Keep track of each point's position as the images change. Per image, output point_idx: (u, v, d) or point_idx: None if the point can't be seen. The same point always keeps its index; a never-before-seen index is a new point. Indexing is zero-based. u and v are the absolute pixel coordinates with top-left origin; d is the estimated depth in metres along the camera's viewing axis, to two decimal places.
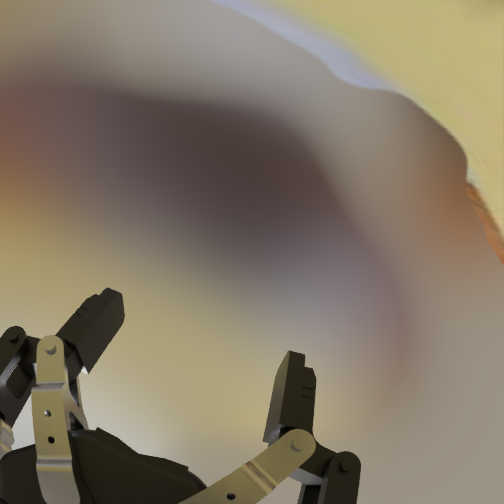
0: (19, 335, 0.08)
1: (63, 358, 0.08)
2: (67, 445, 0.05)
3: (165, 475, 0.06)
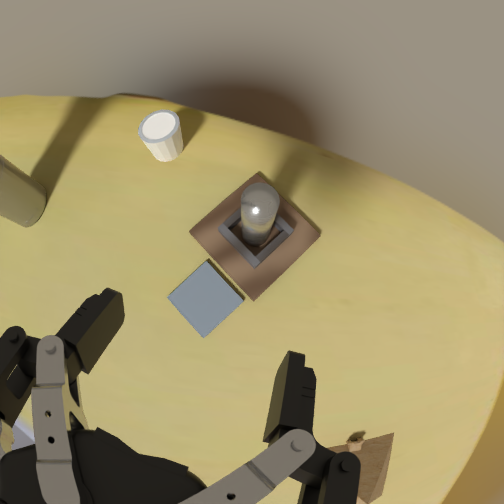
0: (19, 335, 0.08)
1: (63, 358, 0.08)
2: (67, 445, 0.05)
3: (165, 475, 0.06)
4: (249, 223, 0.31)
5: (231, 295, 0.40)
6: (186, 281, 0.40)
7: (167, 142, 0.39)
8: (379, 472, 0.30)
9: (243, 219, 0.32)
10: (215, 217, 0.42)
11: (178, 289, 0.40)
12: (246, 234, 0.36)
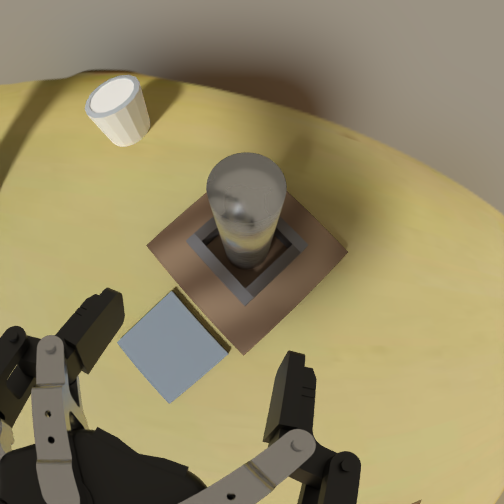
0: (19, 335, 0.08)
1: (63, 358, 0.08)
2: (67, 445, 0.05)
3: (165, 475, 0.06)
4: (227, 234, 0.16)
5: (209, 345, 0.25)
6: (143, 321, 0.25)
7: (120, 115, 0.24)
8: None
9: (217, 226, 0.17)
10: (186, 224, 0.27)
11: (132, 332, 0.25)
12: (229, 252, 0.21)
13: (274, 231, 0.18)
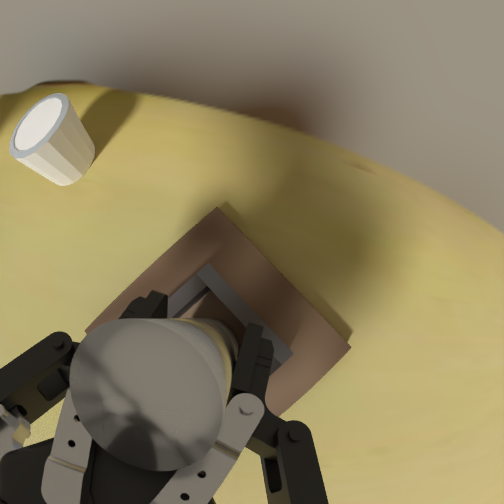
0: (64, 341, 0.08)
1: None
2: (86, 454, 0.05)
3: (165, 475, 0.06)
4: None
5: None
6: None
7: (44, 153, 0.16)
8: None
9: None
10: None
11: None
12: None
13: None
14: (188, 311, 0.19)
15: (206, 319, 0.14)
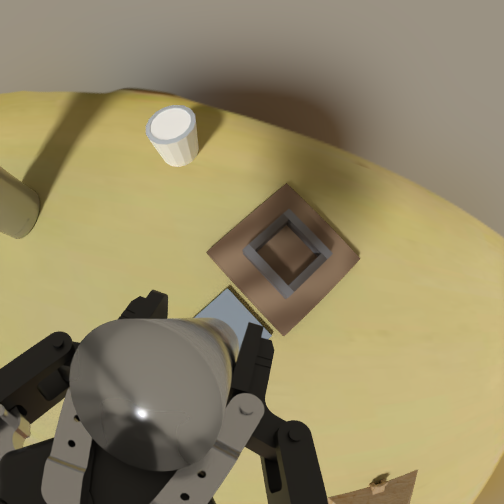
0: (64, 341, 0.08)
1: None
2: (87, 454, 0.05)
3: (165, 475, 0.06)
4: None
5: None
6: (203, 312, 0.34)
7: (181, 143, 0.33)
8: None
9: None
10: (238, 235, 0.35)
11: None
12: None
13: None
14: (274, 236, 0.35)
15: (206, 319, 0.14)
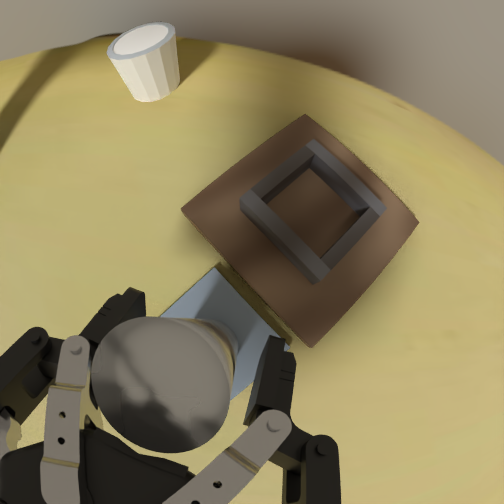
0: (41, 336, 0.08)
1: (90, 359, 0.08)
2: (77, 449, 0.05)
3: (165, 475, 0.06)
4: None
5: (266, 338, 0.19)
6: (174, 308, 0.20)
7: (152, 58, 0.19)
8: None
9: None
10: (233, 182, 0.21)
11: None
12: None
13: None
14: (291, 184, 0.21)
15: (209, 320, 0.15)
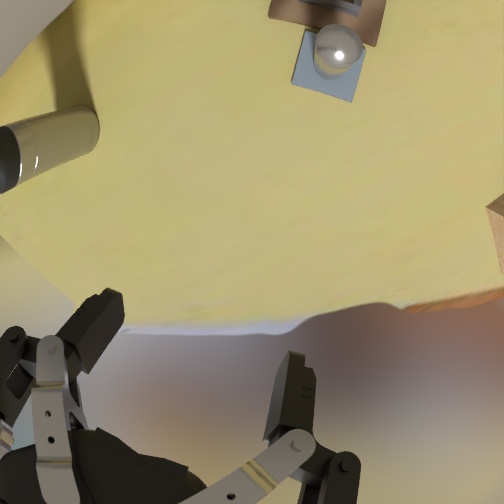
0: (19, 335, 0.08)
1: (63, 358, 0.08)
2: (67, 445, 0.05)
3: (165, 475, 0.06)
4: (336, 69, 0.20)
5: None
6: (300, 58, 0.28)
7: None
8: None
9: (326, 67, 0.21)
10: None
11: (298, 69, 0.29)
12: (329, 75, 0.25)
13: None
14: None
15: None
